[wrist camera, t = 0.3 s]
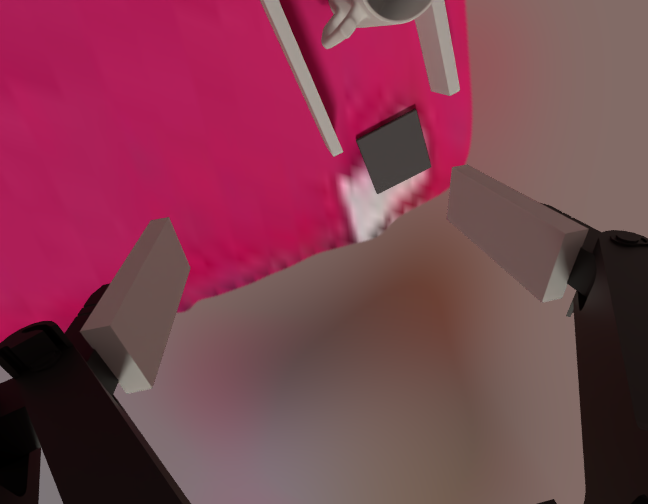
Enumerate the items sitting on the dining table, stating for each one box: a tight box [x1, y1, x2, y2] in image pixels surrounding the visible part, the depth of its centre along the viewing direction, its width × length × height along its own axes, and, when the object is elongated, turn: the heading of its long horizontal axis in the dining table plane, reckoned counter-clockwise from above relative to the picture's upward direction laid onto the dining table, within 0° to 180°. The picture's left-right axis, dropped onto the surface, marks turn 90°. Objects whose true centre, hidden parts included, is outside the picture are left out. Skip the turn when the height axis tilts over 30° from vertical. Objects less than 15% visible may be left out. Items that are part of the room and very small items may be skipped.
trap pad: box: [356, 109, 431, 194], centre depth 42 cm, size 8×8×1 cm
